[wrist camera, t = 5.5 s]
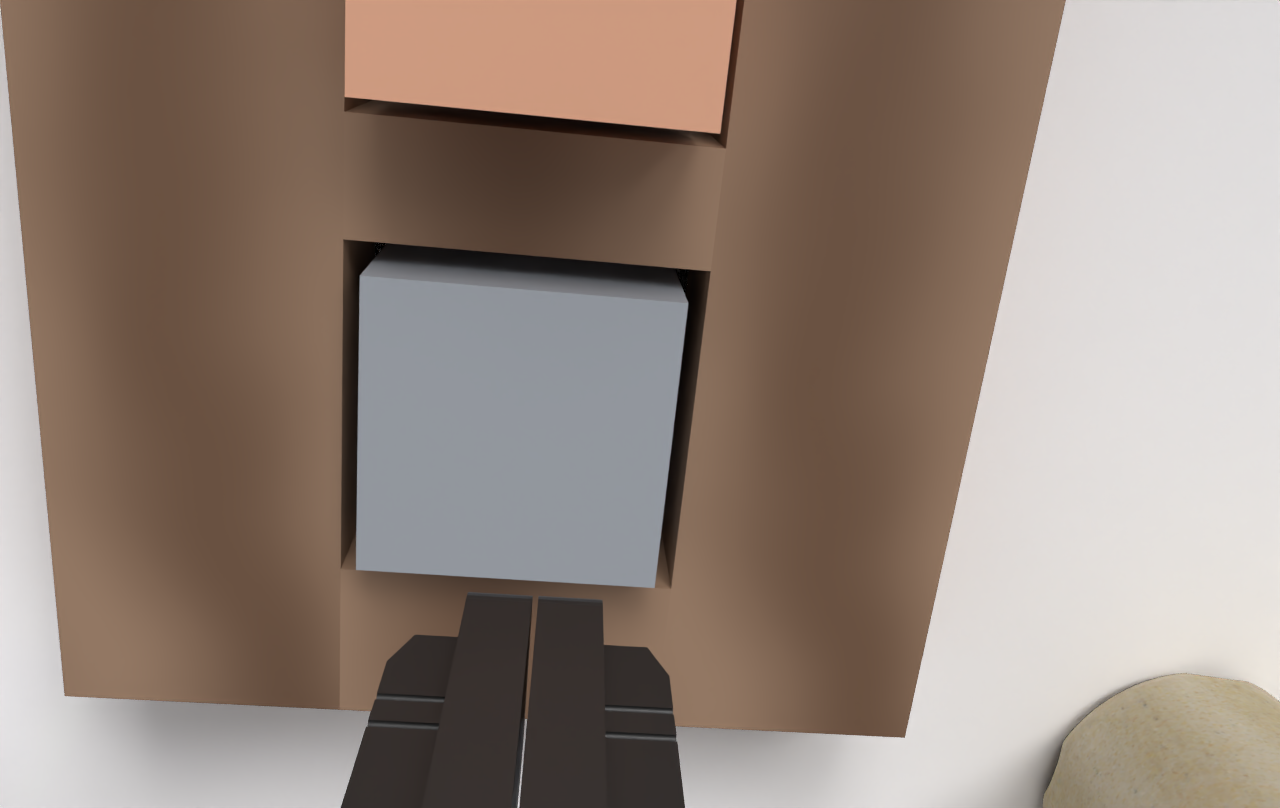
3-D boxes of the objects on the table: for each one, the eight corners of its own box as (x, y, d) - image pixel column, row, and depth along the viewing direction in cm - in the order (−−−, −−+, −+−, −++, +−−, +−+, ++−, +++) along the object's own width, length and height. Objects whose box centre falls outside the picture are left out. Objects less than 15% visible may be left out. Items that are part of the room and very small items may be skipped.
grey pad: (672, 263, 20) (687, 303, 17) (644, 514, 22) (654, 588, 19) (391, 238, 20) (360, 275, 17) (385, 496, 21) (355, 569, 19)
